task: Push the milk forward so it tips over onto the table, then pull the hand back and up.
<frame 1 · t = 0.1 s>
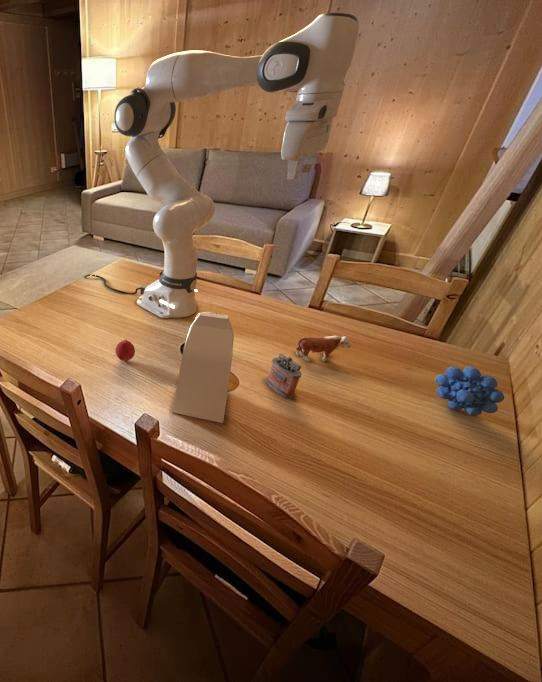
hand: (298, 175, 88), 48 cm above the table, tool pointing down, fingers open, 8 cm apart
milk: (199, 402, 93), on the table
bull figurine: (317, 358, 104), on the table
red grey filled tin: (279, 389, 95), on the table
grapes: (452, 411, 85), on the table
onion: (125, 361, 109), on the table
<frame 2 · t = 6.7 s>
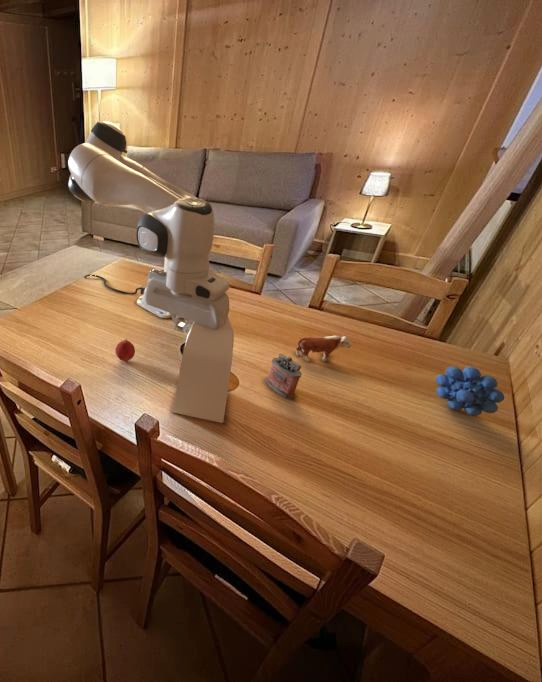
hand: (181, 330, 86), 19 cm above the table, tool pointing down, fingers closed
milk: (199, 402, 93), on the table, touching gripper
everything else where it was.
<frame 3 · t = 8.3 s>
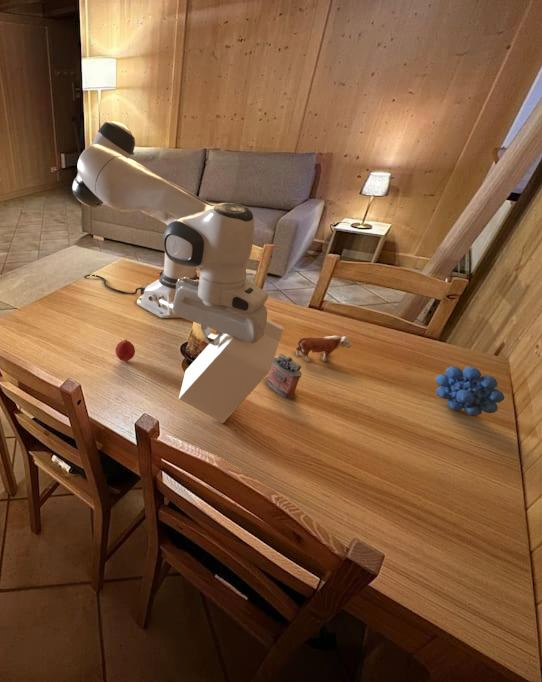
hand: (211, 342, 81), 19 cm above the table, tool pointing down, fingers closed
milk: (202, 395, 91), point 2 cm above the table, touching gripper
everything else where it was.
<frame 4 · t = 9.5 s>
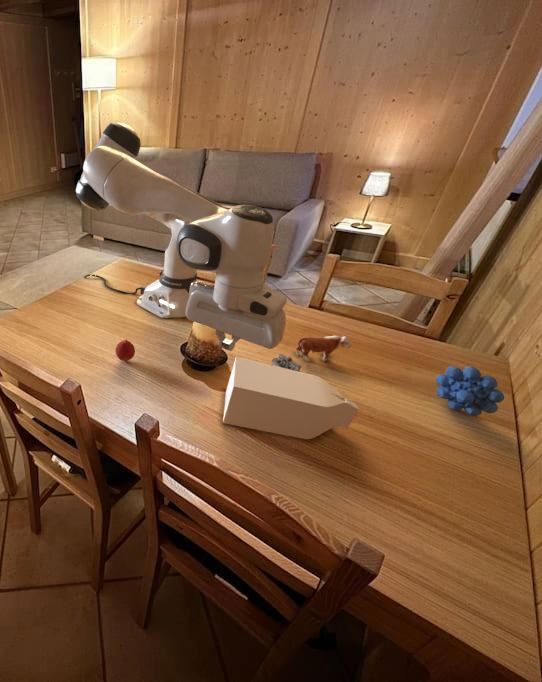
hand: (226, 347, 79), 19 cm above the table, tool pointing down, fingers closed
milk: (228, 389, 87), point 6 cm above the table
everything else where it was.
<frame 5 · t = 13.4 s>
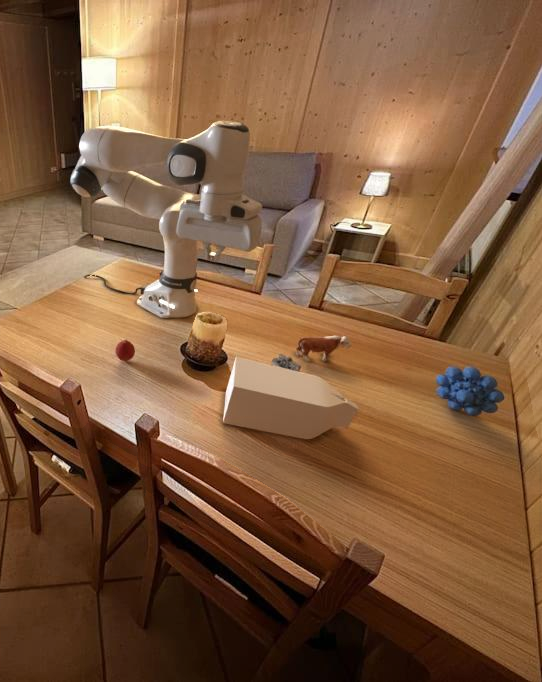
hand: (211, 260, 90), 31 cm above the table, tool pointing down, fingers closed
nothing on the table moved.
at the end: milk tilted 93°; milk inside the target area (10.2 cm from its centre), point 6.0 cm above the table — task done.
